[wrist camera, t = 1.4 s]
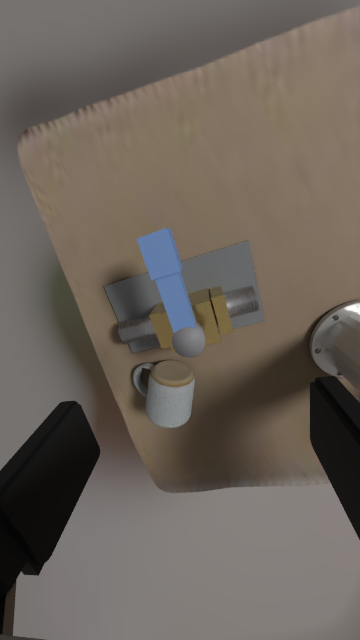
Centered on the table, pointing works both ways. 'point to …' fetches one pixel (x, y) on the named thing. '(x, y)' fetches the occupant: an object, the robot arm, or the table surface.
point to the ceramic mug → (167, 392)
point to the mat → (189, 287)
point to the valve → (204, 312)
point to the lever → (172, 291)
